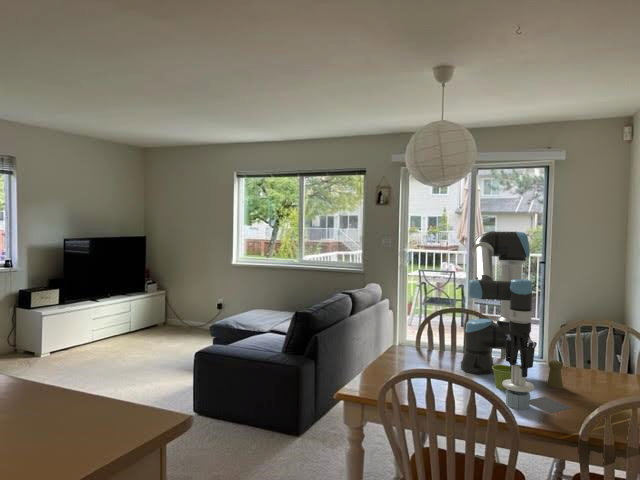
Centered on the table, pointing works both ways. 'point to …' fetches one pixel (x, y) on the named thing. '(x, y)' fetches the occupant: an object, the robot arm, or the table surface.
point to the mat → (548, 404)
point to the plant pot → (501, 375)
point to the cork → (555, 374)
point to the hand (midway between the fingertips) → (518, 383)
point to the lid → (517, 382)
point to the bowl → (518, 399)
